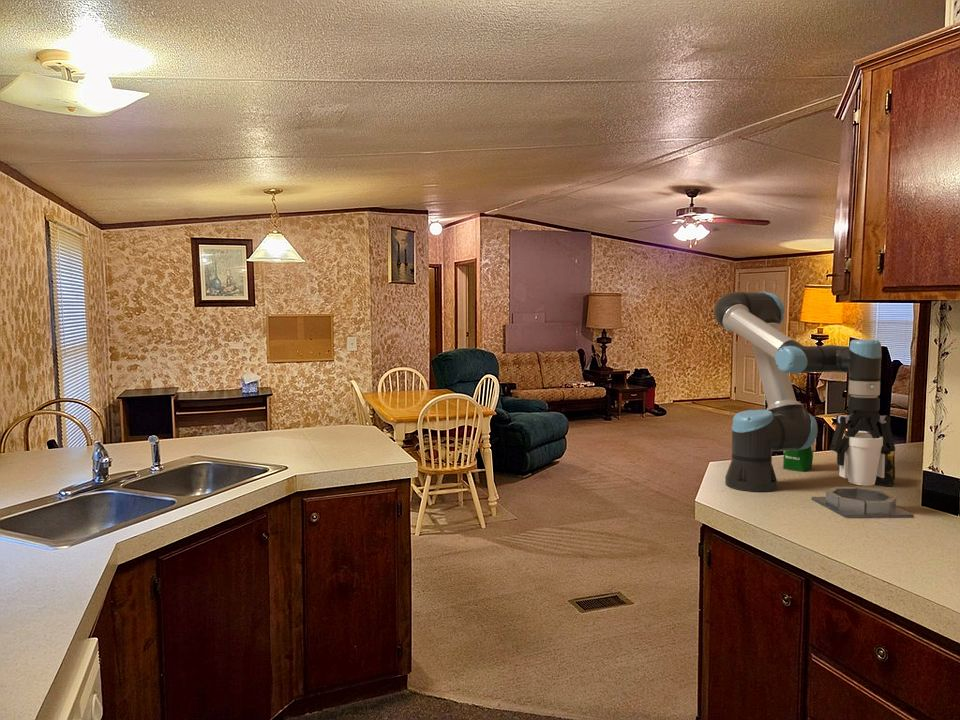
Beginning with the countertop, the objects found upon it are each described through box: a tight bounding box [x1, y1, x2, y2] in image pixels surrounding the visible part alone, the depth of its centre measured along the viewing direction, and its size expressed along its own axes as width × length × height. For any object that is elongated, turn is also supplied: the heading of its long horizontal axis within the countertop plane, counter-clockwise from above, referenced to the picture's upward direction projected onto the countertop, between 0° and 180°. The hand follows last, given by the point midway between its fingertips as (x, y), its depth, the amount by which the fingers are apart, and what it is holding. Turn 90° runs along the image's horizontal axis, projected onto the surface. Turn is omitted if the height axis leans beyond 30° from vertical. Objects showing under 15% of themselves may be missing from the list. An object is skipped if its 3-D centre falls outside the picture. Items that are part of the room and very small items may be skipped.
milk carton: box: [782, 410, 814, 473], centre depth 235 cm, size 9×9×20 cm
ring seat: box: [811, 486, 915, 519], centre depth 188 cm, size 18×18×4 cm
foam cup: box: [843, 432, 884, 486], centre depth 187 cm, size 10×9×13 cm
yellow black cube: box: [873, 450, 896, 488], centre depth 217 cm, size 10×10×10 cm
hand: (861, 476), depth 187 cm, fingers closed on foam cup, 9 cm apart
